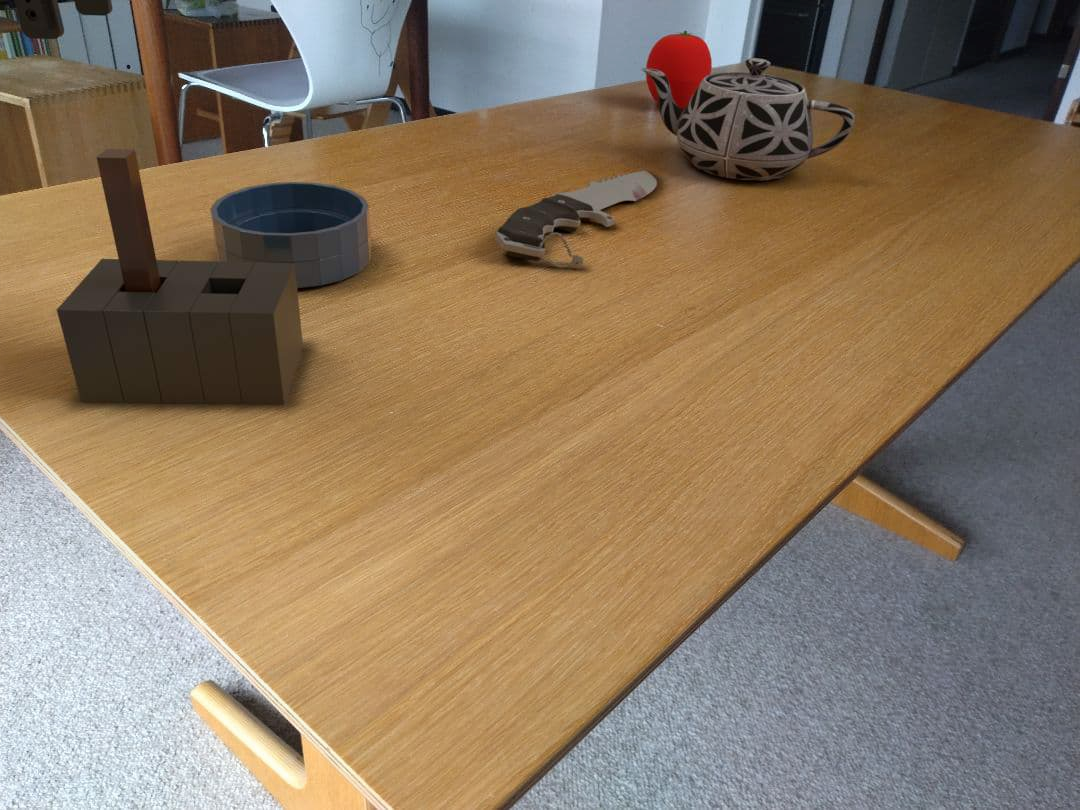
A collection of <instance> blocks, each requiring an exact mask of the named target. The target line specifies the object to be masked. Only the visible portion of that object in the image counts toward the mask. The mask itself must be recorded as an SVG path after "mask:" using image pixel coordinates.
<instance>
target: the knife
mask: <svg viewBox="0 0 1080 810" xmlns="http://www.w3.org/2000/svg"><path fill="white" fill-rule="evenodd" d="M657 185H658V181H657V179H656V178H655V177H654V176H653V175H652V174H651V173H650V172H648V171H647V170H639V171H635V172H629V173H622V174H620V175H619V174H618V175H615V176H611V177H606V178H605V179H603V178H602V179H599V180H595V181H593V180H592V181H590V182H588V186H586V187H585V188H581V189H576V190H572V191H571V190H570V191H566V192H557V193H552V194H551V196H550V197H544V198H542V199H541V200H540V201H538V202H537V203H534V204H531V205H528V206H523V207H520V208H518V209H516V210H515V211H514V212H512V213H511V214H510V215H509V216H508V218H507V219H506V220H505V222H504V223H503V224H502V225H501V226H500V227H499V228H498V229H497V230H496V232H495V238H494V240H495V242H496V244H498V245H499V247H500V249H501V250H502V251H507V253H508V255H509V256H510V257H513V258H518V259H522V260H528V261H532V262H539V261H541V260H542V261H544V262H546V263H547V264H550V265H552V266H554V268H558V269H568V268H569V266H570V267H571V268H572V269H580V268H581V267H582V265H583V264H584V257H582V256H581V255H580V254H579V253H578V254H572V250H571V248H570V246H569V245H568V241H567V240H566V238H565V237H564V236H563V235H562V233H559V232H554V230H557V231H561V232H565V233H569V234H571V233H575V232H576V231H577V230H578V229H579V228H580V227H581V223H582V222H585V223H587V222H590V221H591V220H594V221H596V222H598V223H600V224H602V225H603V226H604V227H605V228H609V227H611V226H613V225H615V221H616V218H615V217H614V216H612V215H610V214H609V213H606V212H604V211H602V210H604V209H606V208H608V207H610V206H613V205H615V204H618V203H622V202H625V201H631V202H632V201H633V202H637V201H638V200H640V199H642V198H645V197H646V196H648V195H649V194H651V193H652V192H653V191H654V190H655V189H656V188H657ZM544 236H545V238H544ZM555 236H557V237H558V238H560V239H561V241H562V242H561V243H563V244H564V248H565V249H566V252H567V253H568V256H569V258H571V257H572V258H571V261H570V263H568V264H565V265H564V264H563V265H561V264H558V263H555V262H552V260H550V259H549V258H545V254H546V241H547V240H549V238H552V237H555Z"/></svg>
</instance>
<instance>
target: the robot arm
mask: <svg viewBox="0 0 1080 810" xmlns="http://www.w3.org/2000/svg"><path fill="white" fill-rule="evenodd" d="M13 1H14V5H15V10H16V13H17V16H18V21H19V25H20V29H21V31H22V33H23V35H24V36H25V37H27V38H29V39H33V40H34V39H35V40H37V39H40V40H56V39H58V38H61V37H62V36H63V35H64V34H65V26H64V22H63V19H62V18H63V17H62V14H61V10H60V6H59V1H58V0H13ZM73 1H74V6H75V9H76V11H77V12H78V13H79V14H80V15H82V16H99V17H100V16H101V17H103V16H107V15H109V14H111V13H112V11H113V4H112V0H73Z"/></svg>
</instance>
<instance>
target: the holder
mask: <svg viewBox="0 0 1080 810" xmlns="http://www.w3.org/2000/svg"><path fill="white" fill-rule="evenodd" d="M156 261H157V266H158V271H159V276H160V282H161V287H160V288H159V290H158V291H157V293H154V292H126V290H125V286H124V281H123V277H122V272H121V268H120V263H119V258H101V259H100V260H99V261H98V262H97V263H96V265H94V267H93V268H92V269H91V270H90V271H89V273H88V274H87V275H86V276H85V277H84V278H83V279H82V280H81V281H80V283H78V285H77V286H76V287H75V288H74V290H72V292H71V293H70V294H69V295H68V296H67V297H66V298H65V299H64V301H63V302H62V303H61V304H59V306H58V307H57V308H56V313H57V316H58V321H59V324H60V328H61V331H62V335H63V339H64V343H65V348H66V349H67V350H66V351H67V354H68V358H69V362H70V365H71V370H72V374H73V376H74V380H75V384H76V388H77V391H78V395H79V399H80V402H81V404H135V405H136V404H141V405H143V404H145V405H147V404H148V405H150V404H151V405H157V404H158V405H162V404H163V405H238V406H239V405H241V406H242V405H244V406H245V405H246V406H250V405H251V406H284V405H285V404H286V401H287V398H288V395H289V392H290V389H291V386H292V383H293V381H294V377H295V375H296V372H297V368H298V365H299V363H300V359H301V357H302V356H301V355H302V353H303V350H304V342H303V334H302V333H303V331H302V323H301V312H300V303H299V292H298V288H297V282H296V273H295V264H294V263H263V262H255V263H254V262H222V261H220V262H218V260H217V261H213V260H212V261H210V260H173V259H170V260H169V259H167V260H166V259H156Z"/></svg>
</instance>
